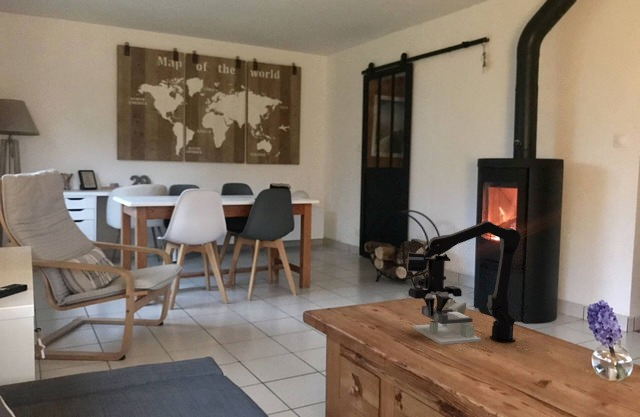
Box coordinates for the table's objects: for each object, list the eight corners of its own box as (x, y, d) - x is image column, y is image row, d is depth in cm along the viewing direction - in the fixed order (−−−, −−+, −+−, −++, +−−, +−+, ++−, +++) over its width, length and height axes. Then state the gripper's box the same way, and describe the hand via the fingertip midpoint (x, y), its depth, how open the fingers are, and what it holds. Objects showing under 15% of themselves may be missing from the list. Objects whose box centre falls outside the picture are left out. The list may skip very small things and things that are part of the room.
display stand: (449, 325, 208) (450, 307, 207) (480, 341, 189) (481, 321, 188) (412, 328, 203) (413, 309, 202) (440, 344, 184) (441, 324, 183)
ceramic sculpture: (461, 301, 211) (425, 297, 219) (461, 323, 211) (425, 318, 219) (470, 296, 220) (435, 293, 228) (470, 317, 220) (435, 313, 228)
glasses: (450, 311, 204) (451, 304, 204) (472, 321, 191) (472, 313, 190) (421, 313, 200) (421, 305, 200) (441, 324, 187) (441, 315, 186)
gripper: (446, 267, 203) (445, 308, 204) (402, 269, 197) (400, 311, 198) (463, 273, 193) (461, 316, 194) (416, 275, 187) (415, 319, 188)
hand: (434, 315), depth 194 cm, fingers closed on glasses, 2 cm apart
